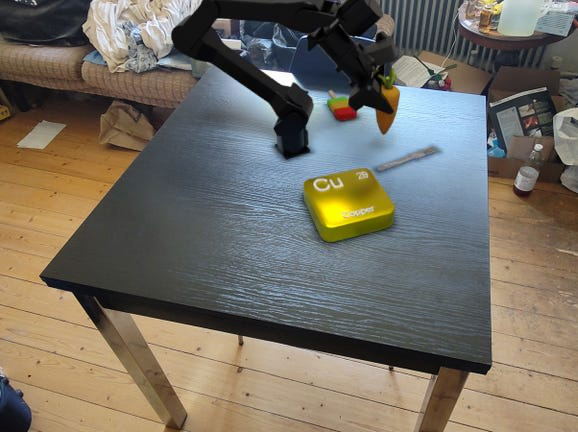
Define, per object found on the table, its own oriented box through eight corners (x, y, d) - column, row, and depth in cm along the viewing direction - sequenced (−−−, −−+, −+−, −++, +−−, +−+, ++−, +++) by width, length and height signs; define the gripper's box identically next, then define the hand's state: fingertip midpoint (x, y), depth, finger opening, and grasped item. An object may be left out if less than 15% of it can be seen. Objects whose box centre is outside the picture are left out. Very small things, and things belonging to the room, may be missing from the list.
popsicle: (338, 122, 114) (338, 115, 113) (320, 95, 124) (320, 89, 123) (358, 118, 115) (358, 112, 114) (339, 92, 126) (339, 86, 125)
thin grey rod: (380, 172, 99) (380, 171, 98) (375, 168, 100) (375, 167, 100) (437, 151, 105) (438, 150, 105) (432, 147, 106) (433, 146, 106)
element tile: (323, 245, 82) (323, 227, 79) (301, 195, 93) (300, 178, 89) (396, 226, 86) (399, 208, 83) (367, 181, 96) (368, 163, 93)
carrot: (384, 143, 96) (391, 78, 86) (367, 134, 98) (373, 69, 88) (399, 135, 98) (408, 71, 88) (382, 126, 101) (389, 63, 91)
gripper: (370, 43, 76) (424, 107, 82) (378, 7, 89) (424, 64, 96) (324, 82, 82) (378, 138, 88) (339, 42, 95) (384, 94, 102)
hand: (393, 106), depth 93 cm, fingers closed on carrot, 5 cm apart
